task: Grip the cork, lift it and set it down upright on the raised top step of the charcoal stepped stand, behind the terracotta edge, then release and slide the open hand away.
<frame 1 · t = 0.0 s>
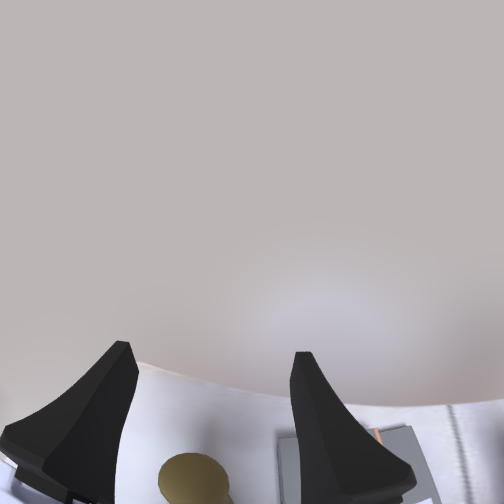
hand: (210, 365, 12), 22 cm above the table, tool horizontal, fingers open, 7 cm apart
stepped stand: (362, 500, 19), on the table
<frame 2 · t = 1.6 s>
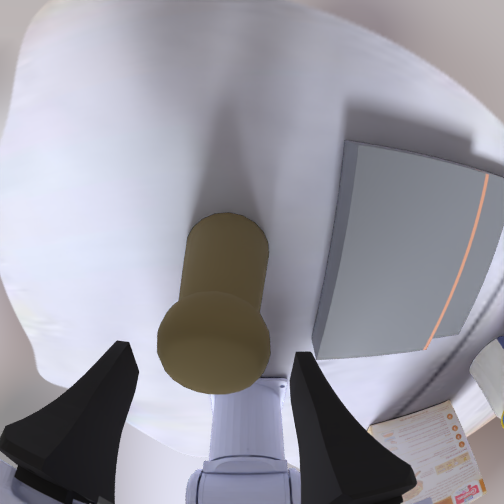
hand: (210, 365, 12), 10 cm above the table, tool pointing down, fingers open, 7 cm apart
white spray bottle: (486, 356, 29), on the table
coffeecake box: (406, 421, 36), on the table
stepped stand: (421, 258, 21), on the table
cork: (227, 250, 21), on the table
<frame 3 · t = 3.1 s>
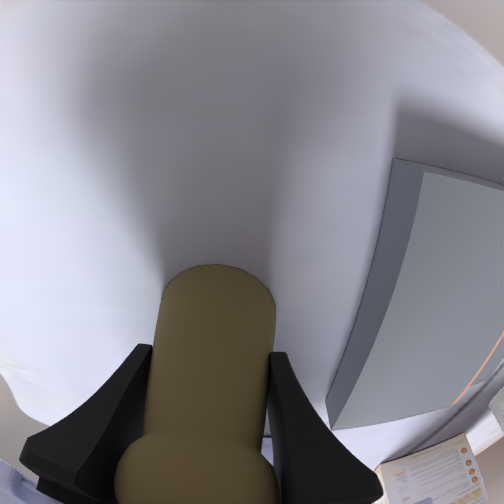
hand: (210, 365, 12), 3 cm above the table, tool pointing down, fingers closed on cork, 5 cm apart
coffeecake box: (417, 455, 29), on the table
stepped stand: (465, 308, 15), on the table
cork: (217, 312, 15), on the table, touching gripper
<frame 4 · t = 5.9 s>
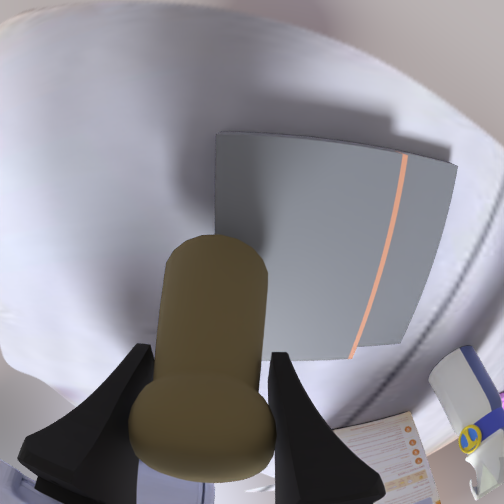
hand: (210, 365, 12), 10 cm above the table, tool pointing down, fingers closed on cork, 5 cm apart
white spray bottle: (450, 366, 29), on the table
coffeecake box: (361, 430, 35), on the table
bracket: (498, 397, 38), on the table
stepped stand: (334, 256, 21), on the table
cork: (216, 279, 17), point 4 cm above the table, touching gripper
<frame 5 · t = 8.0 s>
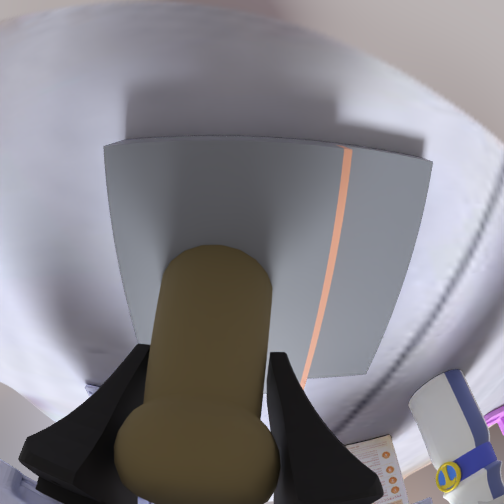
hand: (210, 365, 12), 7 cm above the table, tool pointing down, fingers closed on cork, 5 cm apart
white spray bottle: (434, 391, 26), on the table
coffeecake box: (336, 453, 32), on the table
bracket: (494, 413, 35), on the table
stepped stand: (271, 279, 18), on the table
cork: (216, 293, 15), point 2 cm above the table, touching gripper, stepped stand
when the fingers open (7 cm above the table, at t = 8.8 s): cork stays where it is, resting on stepped stand.
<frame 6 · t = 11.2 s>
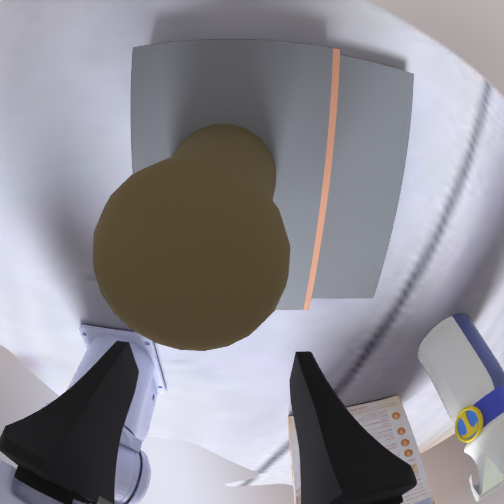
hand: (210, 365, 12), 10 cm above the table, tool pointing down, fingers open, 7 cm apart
white spray bottle: (442, 340, 26), on the table
coffeecake box: (342, 417, 33), on the table
stepped stand: (275, 178, 18), on the table
cork: (222, 176, 16), point 2 cm above the table, touching stepped stand
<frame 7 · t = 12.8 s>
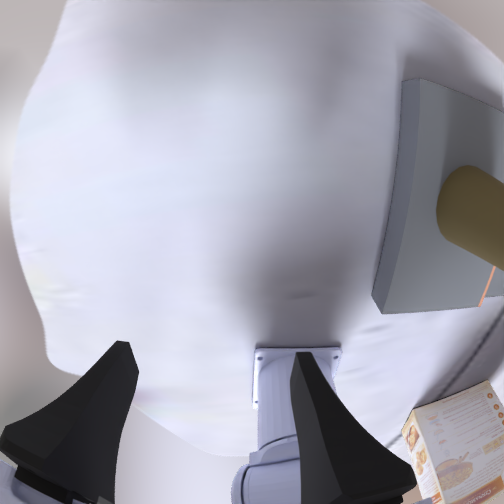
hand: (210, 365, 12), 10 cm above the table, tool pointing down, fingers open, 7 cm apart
coffeecake box: (446, 405, 32), on the table
stepped stand: (472, 206, 19), on the table
cork: (464, 205, 16), point 2 cm above the table, touching stepped stand
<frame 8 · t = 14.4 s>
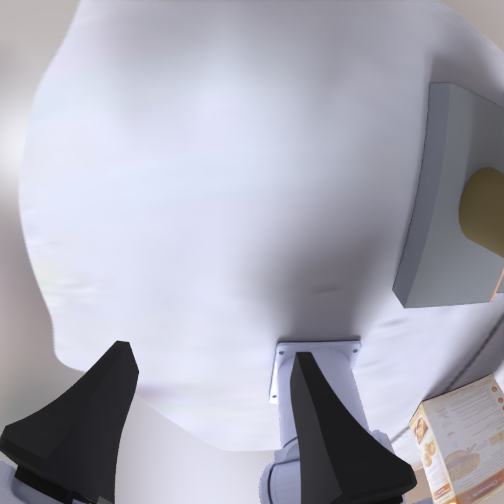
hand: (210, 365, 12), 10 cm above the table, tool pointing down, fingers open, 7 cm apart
coffeecake box: (451, 398, 32), on the table
stepped stand: (487, 206, 19), on the table
cork: (483, 204, 16), point 2 cm above the table, touching stepped stand
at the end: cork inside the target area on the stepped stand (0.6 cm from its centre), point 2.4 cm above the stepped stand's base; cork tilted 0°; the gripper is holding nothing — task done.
